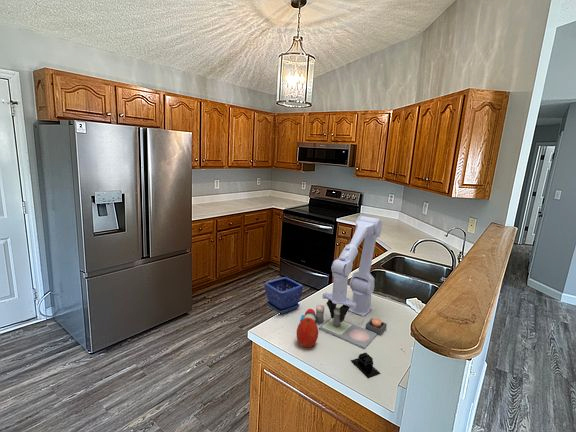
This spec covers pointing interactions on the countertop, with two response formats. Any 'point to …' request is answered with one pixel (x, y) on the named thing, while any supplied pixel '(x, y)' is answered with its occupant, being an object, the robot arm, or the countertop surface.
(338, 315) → the sage marker
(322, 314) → the rose marker
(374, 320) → the button
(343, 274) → the robot arm
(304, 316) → the toy figure
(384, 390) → the countertop surface
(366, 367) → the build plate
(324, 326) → the picture board
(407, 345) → the countertop surface
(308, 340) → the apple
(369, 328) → the button housing
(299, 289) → the flower pot
